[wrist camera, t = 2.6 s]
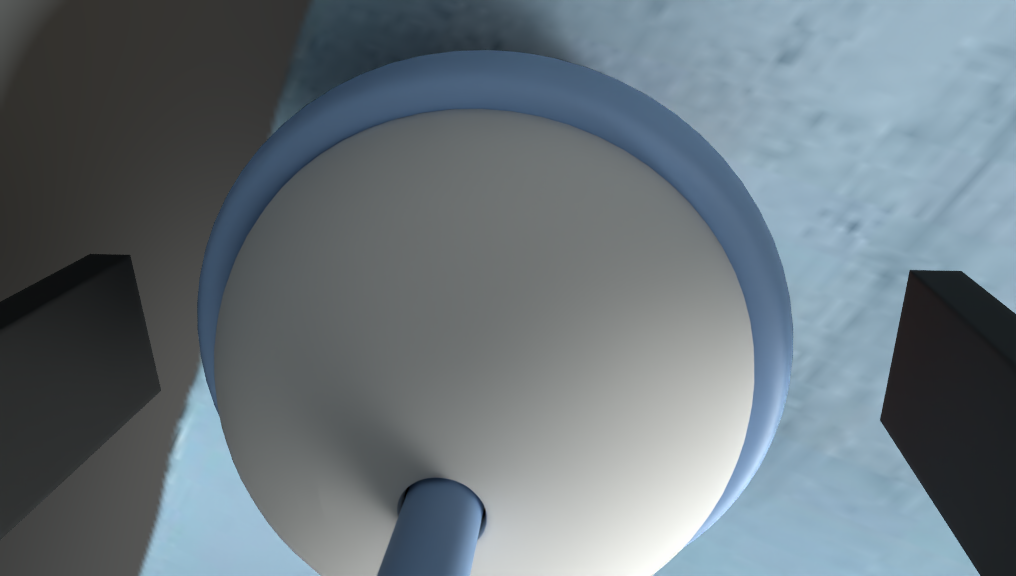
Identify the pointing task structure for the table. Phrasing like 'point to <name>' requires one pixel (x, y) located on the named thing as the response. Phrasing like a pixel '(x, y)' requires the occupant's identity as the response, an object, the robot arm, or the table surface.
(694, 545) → the table surface
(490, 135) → the cup with straw
